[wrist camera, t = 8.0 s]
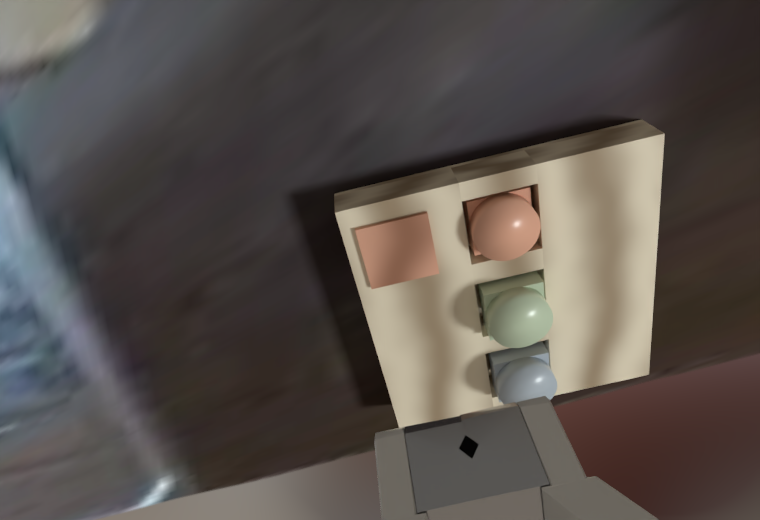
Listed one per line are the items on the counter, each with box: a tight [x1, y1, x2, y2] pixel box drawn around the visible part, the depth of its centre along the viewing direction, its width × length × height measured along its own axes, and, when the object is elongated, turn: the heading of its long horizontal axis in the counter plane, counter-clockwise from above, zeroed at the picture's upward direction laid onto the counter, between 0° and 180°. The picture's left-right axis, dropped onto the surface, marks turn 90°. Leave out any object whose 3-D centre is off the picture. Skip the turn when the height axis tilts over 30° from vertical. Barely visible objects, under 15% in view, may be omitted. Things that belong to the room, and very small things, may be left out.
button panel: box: [334, 119, 665, 428], centre depth 42 cm, size 22×22×3 cm
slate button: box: [488, 341, 557, 404], centre depth 44 cm, size 5×5×3 cm
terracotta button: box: [462, 186, 541, 261], centre depth 38 cm, size 5×5×3 cm
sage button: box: [478, 271, 553, 348], centre depth 41 cm, size 5×5×3 cm
